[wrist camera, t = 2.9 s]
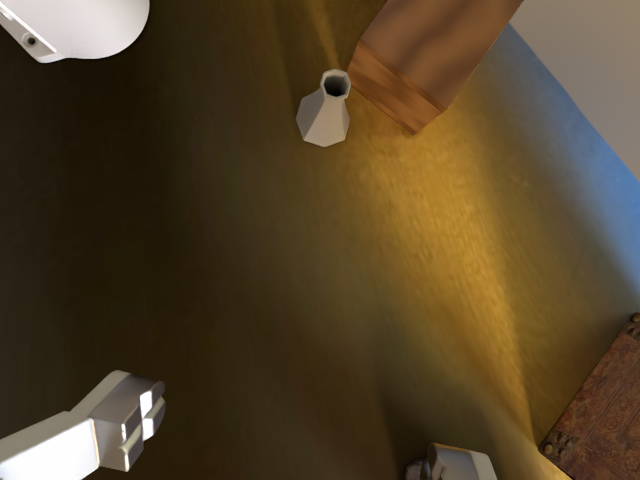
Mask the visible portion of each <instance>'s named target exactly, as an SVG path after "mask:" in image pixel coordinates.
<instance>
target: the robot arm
mask: <svg viewBox="0 0 640 480" xmlns="http://www.w3.org/2000/svg"><path fill="white" fill-rule="evenodd" d="M148 13H149V0H0V24H1V25H2V26H3V27H4V28H5V29H6V30H7V31H8V32H9V33H10V34H11V35H12V36H13V37H14V38H15V40H16V41H17V42H18V43H19V44H20V45H21V46H22V47H23V48H24V49H25V50H26V51H27V52H28V53H29V54H30V55H31V56H32V57H33V58H34V59H36V60H37V61H39V62H42V63H48V62H53V61H57V60H60V59H63V58H83V59H96V58H103V57H107V56H111V55H113V54H116V53H118V52H120V51H122V50H123V49H125V48H126V47H128V46H129V45H130V44H131V43H133V42H134V41H135V39H136V38H137V37H138V36H139V34H140V33H141V31H142V30H143V28H144V26H145V23H146V21H147V17H148ZM34 41H35V44H33V45H32V43H33V42H34ZM164 391H165V387H164V382H162V381H159V380H155V379H151V378H147V377H143V376H139V375H135V374H131V373H127V372H123V371H119V370H116V371H114V372H111V373H110V374H109V375H108V376H107V377H106V378H105V379H104V380H103V381H102V382H100V383H99V384H98V385H97V386H96V387H95V388H94V389H93V390H92V391H91V392H90V393H89V394H88V395H87V396H86V397H85V398H84V399H83V400H82V401H81V402H79V403H78V404H77V405H76V406H75V407H74V408H73V409H72V410H71V411H70V412H66V411H64V412H62V413H59V414H57V415H55V416H53V417H50V418H48V419H46V420H44V421H41V422H39V423H37V424H34V425H32V426H30V427H28V428H25V429H23V430H21V431H19V432H16V433H14V434H12V435H10V436H7V437H5V438H3V439H1V440H0V480H81V479H83V478H84V477H86V476H87V475H88V474H90V473H91V472H93V471H94V470H96V469H97V468H98V467H99V466H104V467H108V468H113V469H117V470H122V471H126V472H128V471H129V469H130V468H131V466H132V465H133V463H134V462H135V461H136V459H137V458H138V456H139V455H140V453H141V452H142V451H143V441H144V440H146V439H148V438H149V437H151V436H153V435H154V433H155V432H156V430H157V429H158V427H159V425H160V423H161V421H162V419H163V416H164V412H165V401H164V400H163V398H162V397H161V395H162V394H163V392H164ZM427 455H428V459H427V460H425V461H423V463H422V466H421V469H420V477H419V480H497V478H496V475H495V472H494V470H493V467H492V464H491V462H490V459H489V457H488V456H487V455H486V454H483V453H479V452H474V451H470V450H466V449H462V448H457V447H452V446H448V445H443V444H438V443H434V442H431V443H430V444H429V446H428V449H427ZM98 465H99V466H98Z"/></svg>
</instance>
